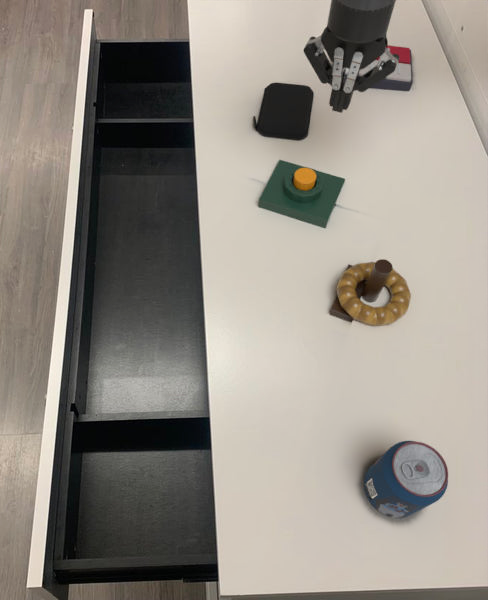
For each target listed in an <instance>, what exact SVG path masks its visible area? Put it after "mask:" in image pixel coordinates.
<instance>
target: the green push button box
mask: <svg viewBox="0 0 488 600" xmlns="http://www.w3.org/2000/svg"><path fill="white" fill-rule="evenodd" d="M300 168H309V169H312V170H313V171H314V172H315V173H316V181H315V185H314V187H313V188H312V189H310V190H307V191H303V190H299V189H297V188H296V187H295V186H294V184H293V180H294V174H295V172H296V171H297V170H298V169H300ZM345 183H346V178H345V177H341V176H338V175H334V174H330V173H328V172H323V171H321V170H317V169H315V168H311V167H308V166H303V165H299V164H295V163H292V162H290V161H285V160H282V159H279V160H278V162H277V163H276V165H275V167H274V170H273V171H272V172H271V175H270V177H269V179H268V181H267V183H266V185H265V186H264V189H263V191H262V193H261V194H260V196H259V198H258V205H257V206H258V208H260V209H263V210H266V211H269V212H271V213H276V214H279V215H281V216H285V217H288V218H291V219H294V220H297V221H300V222H303V223H306V224H310V225H313V226H317V227H319V228H321V229H326V228H327V226H328V224H329V222H330V219H331V217H332V214H333V212H334V210H335V207H336V205H337V201H338V199H339V197H340V194H341V192H342V191H343V190H342V189H343V187H344V185H345Z"/></svg>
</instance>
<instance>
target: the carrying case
mask: <svg viewBox="0 0 488 600" xmlns="http://www.w3.org/2000/svg"><path fill="white" fill-rule="evenodd" d="M314 97H315V93H314V90H313V89H312V88H311V87H310V86H308V85H306V84H297V83H296V84H295V83H285V82H270V84H268V85H267V86H266V87H264V90H263V95H262V99H261V104H260V108H259V113H258V116H257V117H258V118H257V119H256V116H255V115H253V116H252V123H253V129H254V130H255V132H257V133H258V135H260V136H262V137H265V138H272V139H279V140H280V139H281V140H288V141H289V140H290V141H302V140H303V141H304V139H306V138H307V137H308V136H309V131H310V125H311V124H310V123H311V116H312V111H313V110H312V109H313V104H314Z"/></svg>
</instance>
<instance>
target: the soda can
mask: <svg viewBox="0 0 488 600" xmlns="http://www.w3.org/2000/svg"><path fill="white" fill-rule="evenodd" d="M448 484H449V469H448V465H447V463H446V460H445V458H444V457H443V455H442V454H441V453H440V452H439V451H438V450H437V449H435V448H434V447H432V446H431V445H429V444H427V443H425V442H422V441H415V440H404V441H399V442H397V443H395V444H393V445H392V446H391V447H389V448H388V449H387V450H386V451H385V452H384V453H382V455H381V456H380V457H379V458H378V459H377V460H375V462H374V463H373V464H372V465H370V466H369V468H368V469H367V471H366V472H365V475H364V479H363V490H364V493H365V497H366V498H367V500H368V502H369V504H370V505H371V506H372V507H373V508H374V509H375V510H376V511H377V512H378V513H380V514H381V515H383V516H386V517H389V518H392V519H404V518H408V517H410V516H412V515H413V514H416V513H418V512H419V511H421V510H424V509H426V508H427V507H429V506H431V505H432V504H435V503H436V502H438V501H439V500H441V498H443V496H444V495H445V493H446V492H447V488H448V486H449V485H448Z"/></svg>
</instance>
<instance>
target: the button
mask: <svg viewBox="0 0 488 600" xmlns="http://www.w3.org/2000/svg"><path fill="white" fill-rule="evenodd" d="M309 168H310V167H308V168H300V169H298V170H297V171H296V172H295V174H294V180H293V184H294V186H295V187H296V188H297V189H299V190H303V191H307V190H310V189H312V188H313V187H314V185H315V181H316V173H315V172H314V171H313V170H312V169H313V168H311V169H309Z"/></svg>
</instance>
